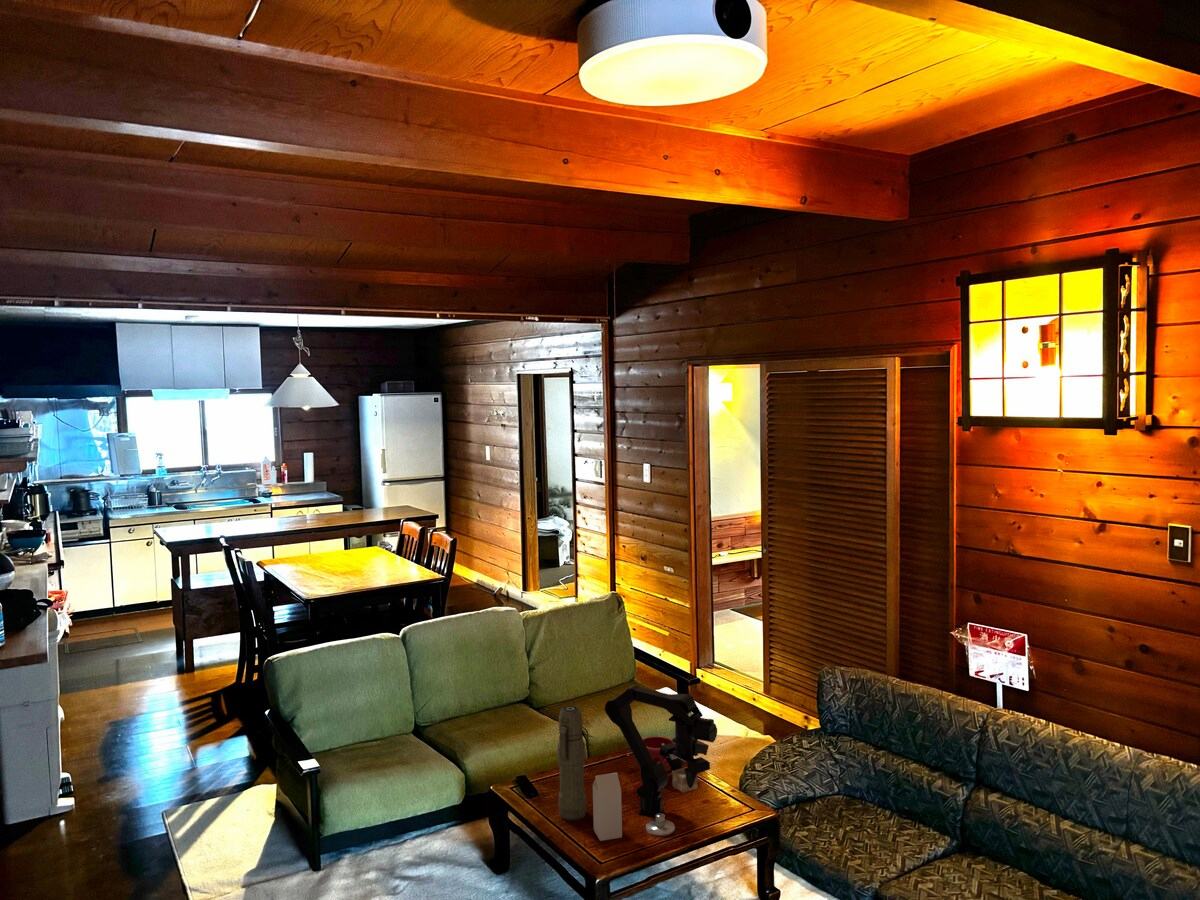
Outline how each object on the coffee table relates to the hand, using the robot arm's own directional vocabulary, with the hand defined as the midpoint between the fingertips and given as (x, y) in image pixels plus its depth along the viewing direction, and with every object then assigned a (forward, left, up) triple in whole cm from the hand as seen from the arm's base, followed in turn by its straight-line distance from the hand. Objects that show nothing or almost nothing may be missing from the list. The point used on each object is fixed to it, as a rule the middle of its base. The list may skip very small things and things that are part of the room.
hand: (684, 784), depth 281 cm
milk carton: (-19, -17, -12) cm, 29 cm away
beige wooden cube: (0, 0, -1) cm, 1 cm away
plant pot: (-20, +30, -12) cm, 38 cm away
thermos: (-35, -9, -12) cm, 39 cm away
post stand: (-5, -8, -12) cm, 15 cm away
